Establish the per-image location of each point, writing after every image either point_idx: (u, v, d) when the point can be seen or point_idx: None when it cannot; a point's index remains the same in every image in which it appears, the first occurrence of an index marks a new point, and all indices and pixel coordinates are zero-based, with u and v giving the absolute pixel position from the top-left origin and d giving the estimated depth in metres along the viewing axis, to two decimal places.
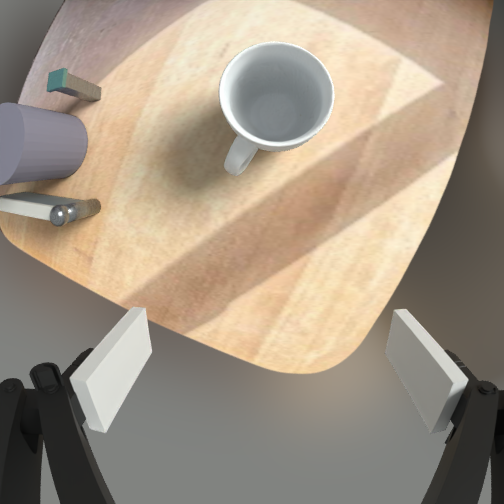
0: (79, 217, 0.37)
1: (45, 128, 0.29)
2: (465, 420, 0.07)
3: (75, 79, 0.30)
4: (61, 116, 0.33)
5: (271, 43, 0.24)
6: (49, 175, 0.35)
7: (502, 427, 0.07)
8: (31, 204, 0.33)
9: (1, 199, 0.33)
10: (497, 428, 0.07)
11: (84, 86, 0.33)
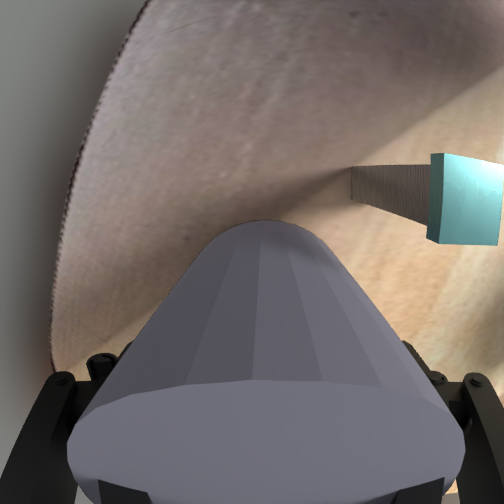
0: None
1: None
2: None
3: None
4: None
5: None
6: None
7: (455, 419, 0.08)
8: None
9: None
10: None
11: None
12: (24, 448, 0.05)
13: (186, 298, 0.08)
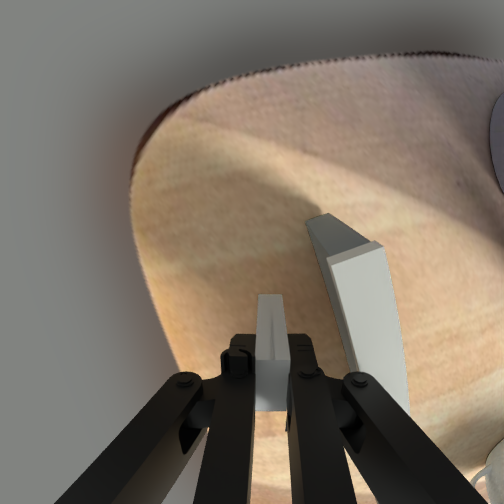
0: None
1: None
2: (296, 411, 0.08)
3: None
4: None
5: None
6: None
7: (337, 419, 0.10)
8: None
9: (396, 326, 0.10)
10: None
11: None
12: (122, 449, 0.06)
13: None
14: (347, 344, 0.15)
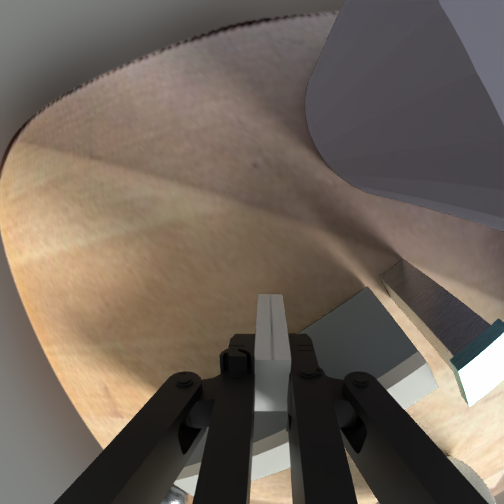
0: None
1: None
2: (296, 411, 0.08)
3: None
4: None
5: None
6: (387, 189, 0.11)
7: (337, 419, 0.10)
8: None
9: None
10: None
11: None
12: (121, 449, 0.06)
13: None
14: None
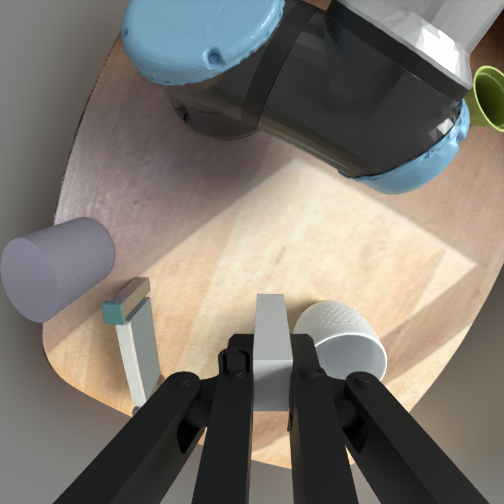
0: None
1: (74, 263, 0.32)
2: (298, 411, 0.08)
3: (129, 300, 0.36)
4: (85, 234, 0.36)
5: (344, 335, 0.30)
6: None
7: (339, 419, 0.10)
8: (139, 387, 0.38)
9: (130, 345, 0.36)
10: None
11: (137, 296, 0.39)
12: (120, 448, 0.06)
13: None
14: None
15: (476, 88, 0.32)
